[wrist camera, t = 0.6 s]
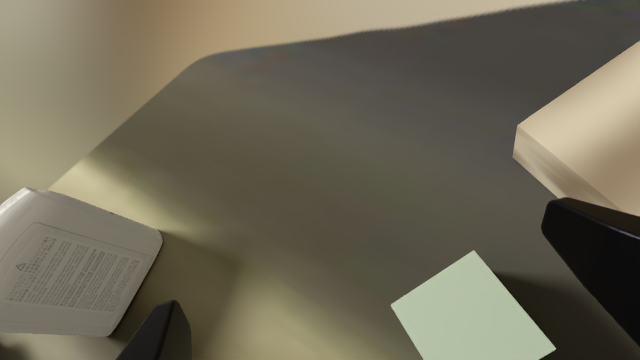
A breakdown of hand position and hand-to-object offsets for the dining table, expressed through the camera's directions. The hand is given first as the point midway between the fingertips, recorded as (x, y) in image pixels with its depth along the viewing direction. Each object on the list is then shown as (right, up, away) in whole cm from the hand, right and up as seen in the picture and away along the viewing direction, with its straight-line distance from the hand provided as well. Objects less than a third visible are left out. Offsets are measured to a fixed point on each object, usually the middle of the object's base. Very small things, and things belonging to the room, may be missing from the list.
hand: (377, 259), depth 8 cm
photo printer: (-19, -8, +25) cm, 32 cm away
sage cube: (+7, -7, +12) cm, 16 cm away
